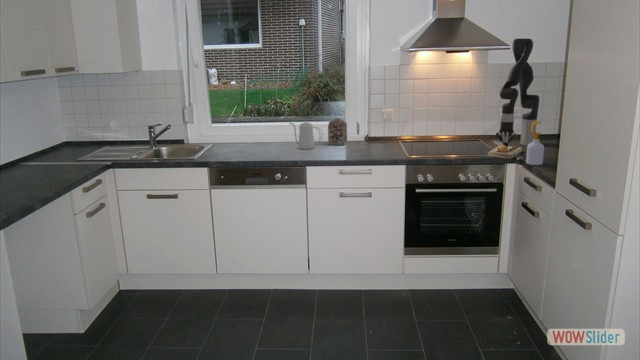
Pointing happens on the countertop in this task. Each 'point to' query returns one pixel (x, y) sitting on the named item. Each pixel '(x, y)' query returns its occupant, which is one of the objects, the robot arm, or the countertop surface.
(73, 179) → the countertop surface
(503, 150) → the ball
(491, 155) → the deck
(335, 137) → the decorative jar
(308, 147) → the coffeepot
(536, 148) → the soap bottle
